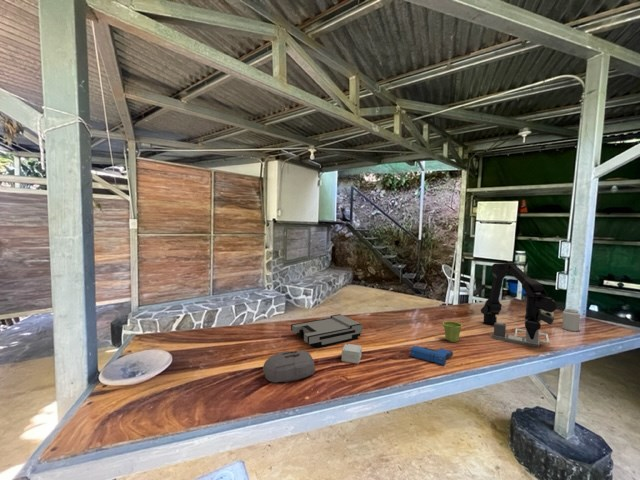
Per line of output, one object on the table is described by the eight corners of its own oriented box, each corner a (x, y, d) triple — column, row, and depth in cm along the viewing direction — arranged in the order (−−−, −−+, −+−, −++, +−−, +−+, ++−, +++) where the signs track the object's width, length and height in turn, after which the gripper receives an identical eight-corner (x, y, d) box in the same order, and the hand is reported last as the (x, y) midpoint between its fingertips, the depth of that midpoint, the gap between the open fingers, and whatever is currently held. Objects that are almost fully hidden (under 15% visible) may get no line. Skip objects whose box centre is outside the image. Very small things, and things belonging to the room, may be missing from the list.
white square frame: (514, 337, 152) (514, 335, 152) (515, 329, 164) (515, 328, 164) (549, 343, 143) (549, 342, 143) (547, 335, 155) (547, 334, 155)
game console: (290, 337, 149) (291, 322, 148) (340, 327, 165) (340, 314, 164) (308, 351, 131) (309, 334, 130) (362, 339, 147) (362, 324, 146)
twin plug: (493, 335, 151) (494, 323, 151) (494, 332, 155) (495, 321, 155) (504, 337, 148) (505, 325, 148) (505, 334, 152) (505, 323, 152)
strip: (492, 338, 150) (492, 335, 150) (493, 333, 157) (494, 331, 157) (539, 348, 138) (539, 345, 138) (538, 342, 145) (538, 339, 145)
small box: (358, 364, 119) (359, 352, 119) (341, 361, 121) (341, 349, 121) (361, 356, 126) (361, 345, 126) (345, 354, 129) (345, 343, 129)
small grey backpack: (305, 361, 120) (259, 370, 112) (305, 342, 120) (259, 350, 112) (318, 378, 107) (267, 389, 99) (319, 357, 106) (267, 366, 98)
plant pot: (442, 342, 144) (443, 325, 144) (441, 335, 153) (442, 320, 153) (462, 344, 141) (463, 327, 141) (460, 338, 150) (460, 322, 150)
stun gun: (419, 340, 138) (410, 347, 126) (453, 348, 129) (447, 357, 117) (419, 349, 138) (409, 357, 126) (453, 357, 129) (446, 367, 117)
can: (572, 328, 169) (572, 308, 168) (582, 332, 161) (583, 312, 161) (559, 327, 170) (559, 308, 169) (568, 331, 162) (569, 311, 162)
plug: (525, 341, 143) (526, 329, 143) (525, 338, 147) (526, 326, 147) (538, 343, 140) (538, 331, 140) (537, 340, 144) (538, 328, 144)
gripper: (554, 313, 130) (553, 346, 131) (551, 305, 145) (550, 335, 146) (525, 309, 137) (524, 340, 138) (525, 302, 152) (524, 330, 153)
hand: (531, 336), depth 143 cm, fingers open, 9 cm apart
